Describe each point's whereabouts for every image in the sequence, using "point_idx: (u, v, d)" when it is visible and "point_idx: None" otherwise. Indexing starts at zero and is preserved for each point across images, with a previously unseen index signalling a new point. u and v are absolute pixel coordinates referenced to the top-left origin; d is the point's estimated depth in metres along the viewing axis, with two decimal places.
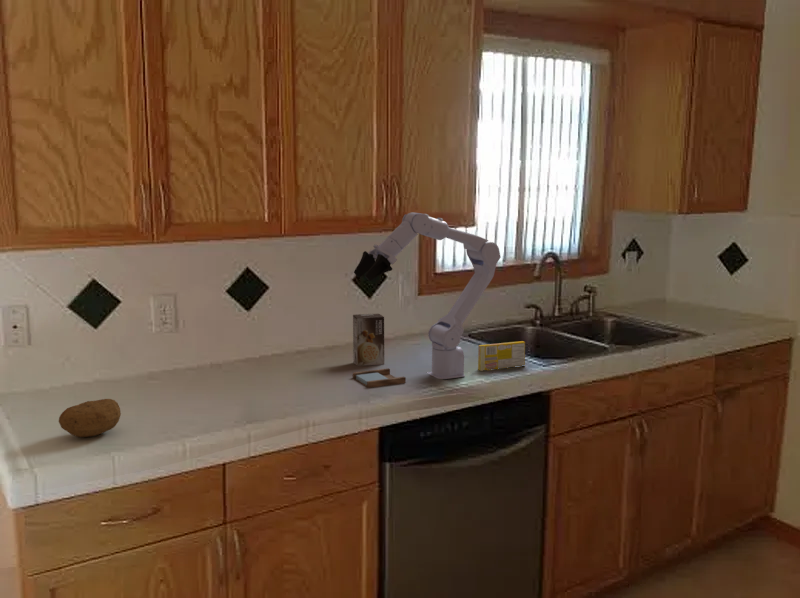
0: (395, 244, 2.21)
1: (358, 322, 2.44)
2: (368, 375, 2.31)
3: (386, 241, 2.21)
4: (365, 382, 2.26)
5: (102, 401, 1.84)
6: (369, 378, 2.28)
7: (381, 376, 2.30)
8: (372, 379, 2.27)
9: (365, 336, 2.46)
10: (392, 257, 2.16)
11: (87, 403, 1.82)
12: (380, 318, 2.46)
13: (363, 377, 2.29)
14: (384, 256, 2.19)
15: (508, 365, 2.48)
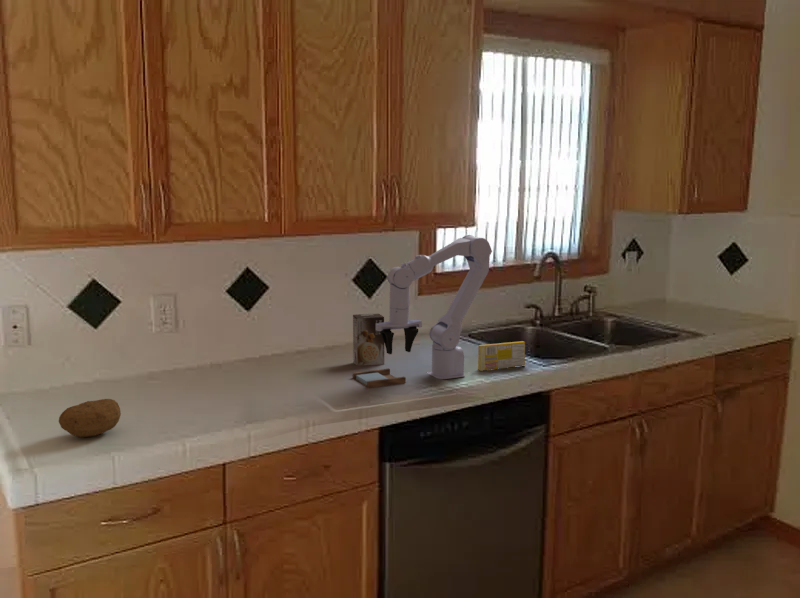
0: None
1: (358, 322, 2.44)
2: (368, 375, 2.31)
3: None
4: (365, 382, 2.26)
5: (102, 401, 1.84)
6: (369, 378, 2.28)
7: (381, 376, 2.30)
8: (372, 379, 2.27)
9: (365, 336, 2.46)
10: (376, 326, 2.28)
11: (87, 403, 1.82)
12: (380, 318, 2.46)
13: (363, 377, 2.29)
14: None
15: (508, 365, 2.48)
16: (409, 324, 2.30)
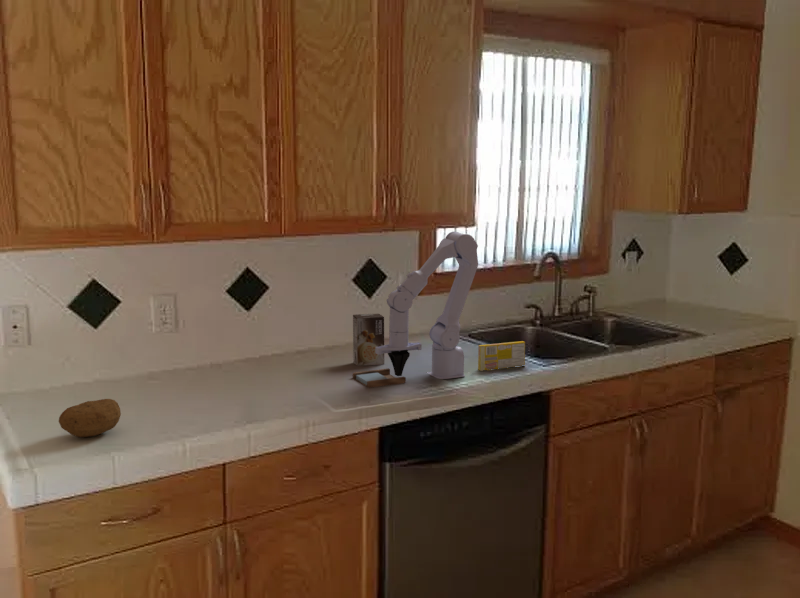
0: (389, 333, 2.31)
1: (358, 322, 2.44)
2: (368, 375, 2.31)
3: None
4: (365, 382, 2.26)
5: (102, 401, 1.84)
6: (369, 378, 2.28)
7: (381, 376, 2.30)
8: (372, 379, 2.27)
9: (365, 336, 2.46)
10: (375, 349, 2.29)
11: (87, 403, 1.82)
12: (380, 318, 2.46)
13: (363, 377, 2.29)
14: None
15: (508, 365, 2.48)
16: (409, 347, 2.31)
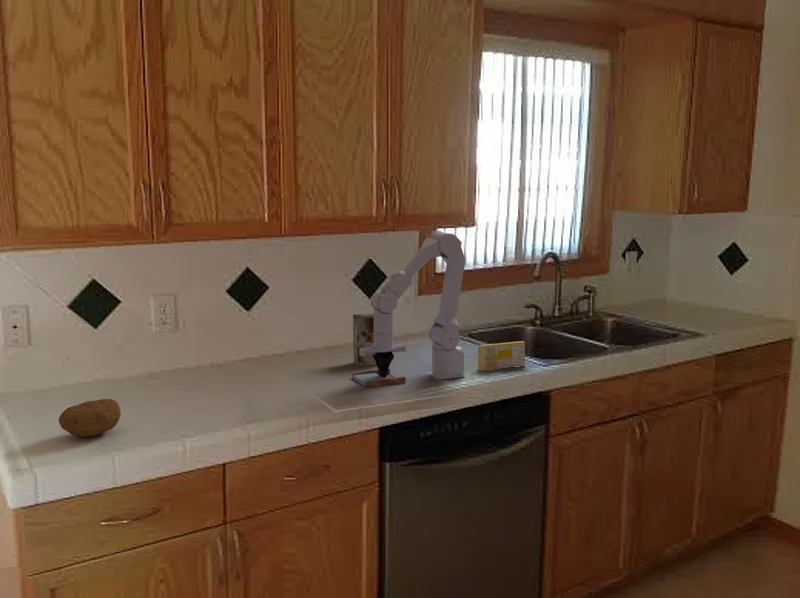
0: None
1: (358, 322, 2.44)
2: (365, 375, 2.31)
3: None
4: (362, 382, 2.25)
5: (102, 401, 1.84)
6: (366, 378, 2.28)
7: (378, 376, 2.30)
8: (369, 379, 2.27)
9: (365, 336, 2.46)
10: (359, 351, 2.27)
11: (87, 403, 1.82)
12: None
13: (360, 377, 2.28)
14: None
15: (508, 365, 2.48)
16: (393, 349, 2.28)
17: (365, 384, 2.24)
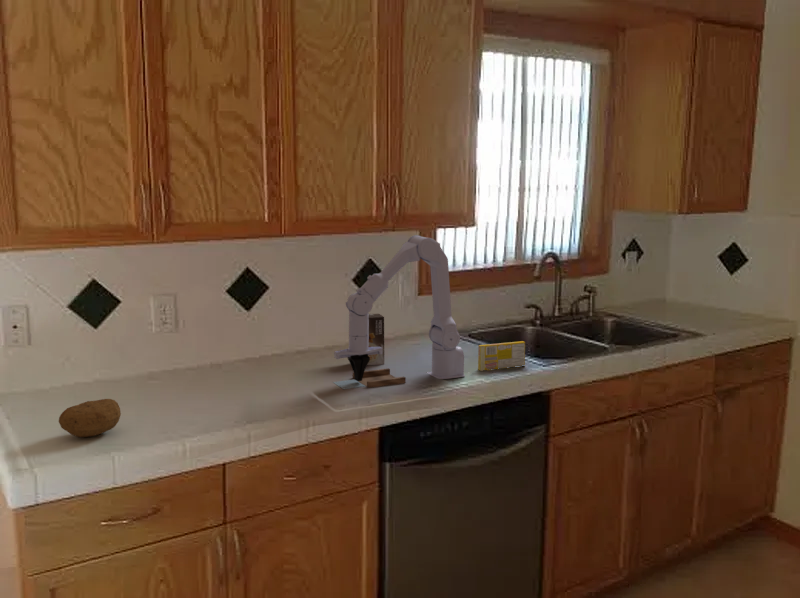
0: None
1: None
2: (344, 382, 2.28)
3: None
4: None
5: (102, 401, 1.84)
6: (345, 385, 2.25)
7: (357, 383, 2.27)
8: (348, 386, 2.24)
9: None
10: (334, 353, 2.23)
11: (87, 403, 1.82)
12: (380, 318, 2.46)
13: (339, 384, 2.25)
14: None
15: (508, 365, 2.48)
16: (369, 351, 2.25)
17: None
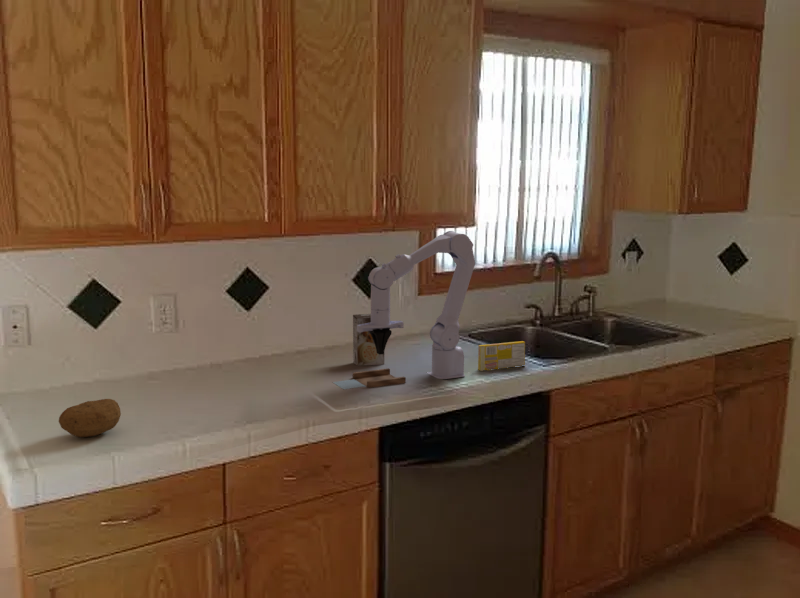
0: None
1: (358, 322, 2.44)
2: (344, 382, 2.28)
3: None
4: None
5: (102, 401, 1.84)
6: (345, 385, 2.25)
7: (357, 383, 2.27)
8: (348, 386, 2.24)
9: (365, 336, 2.46)
10: (357, 327, 2.27)
11: (87, 403, 1.82)
12: None
13: (339, 384, 2.25)
14: None
15: (508, 365, 2.48)
16: (390, 325, 2.28)
17: None
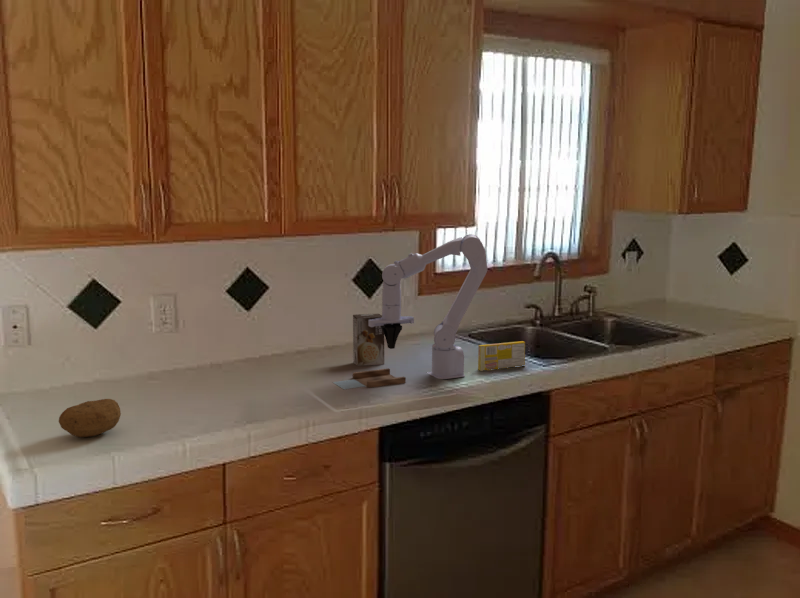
0: (382, 306, 2.35)
1: (358, 322, 2.44)
2: (344, 382, 2.28)
3: None
4: None
5: (102, 401, 1.84)
6: (345, 385, 2.25)
7: (357, 383, 2.27)
8: (348, 386, 2.24)
9: (365, 336, 2.46)
10: (368, 322, 2.33)
11: (87, 403, 1.82)
12: None
13: (339, 384, 2.25)
14: None
15: (508, 365, 2.48)
16: (401, 320, 2.35)
17: None
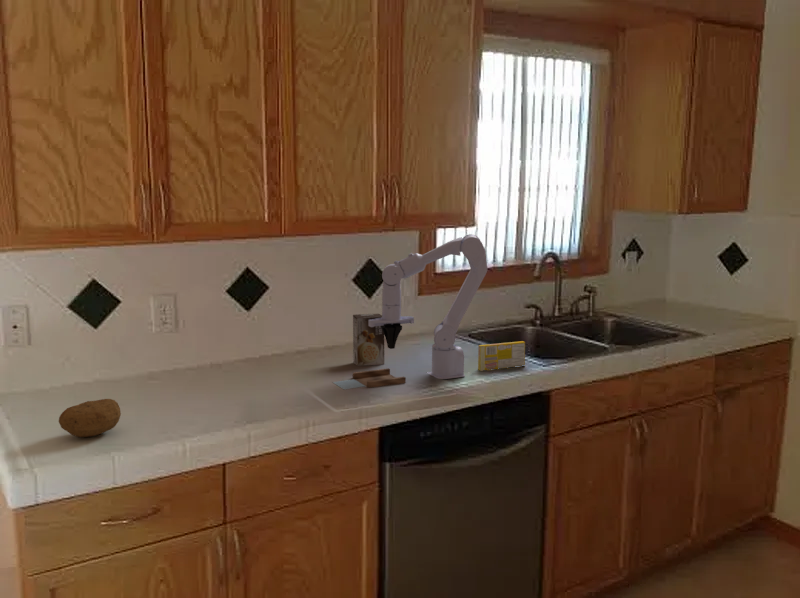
0: (382, 306, 2.35)
1: (358, 322, 2.44)
2: (344, 382, 2.28)
3: None
4: None
5: (102, 401, 1.84)
6: (345, 385, 2.25)
7: (357, 383, 2.27)
8: (348, 386, 2.24)
9: (365, 336, 2.46)
10: (368, 322, 2.33)
11: (87, 403, 1.82)
12: None
13: (339, 384, 2.25)
14: None
15: (508, 365, 2.48)
16: (401, 320, 2.35)
17: None
